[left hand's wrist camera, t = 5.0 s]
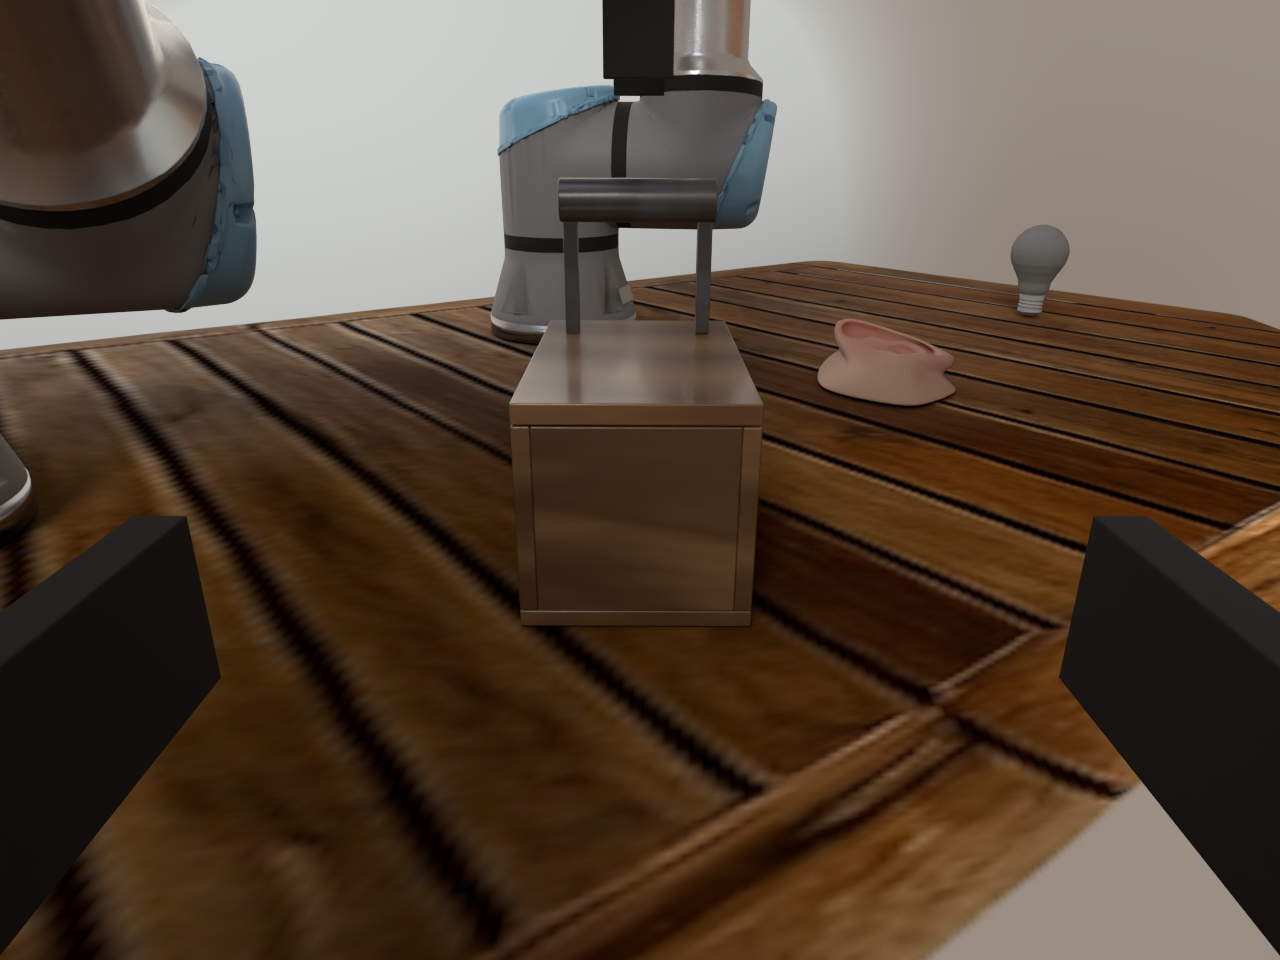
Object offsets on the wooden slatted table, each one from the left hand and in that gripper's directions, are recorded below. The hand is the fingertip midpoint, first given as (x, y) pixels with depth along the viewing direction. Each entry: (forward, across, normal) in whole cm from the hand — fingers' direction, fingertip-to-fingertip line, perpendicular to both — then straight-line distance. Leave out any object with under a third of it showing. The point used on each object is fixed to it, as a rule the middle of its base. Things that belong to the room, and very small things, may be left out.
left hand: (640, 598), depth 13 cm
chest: (+27, 0, -12) cm, 30 cm away
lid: (+27, 0, -4) cm, 28 cm away
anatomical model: (+58, +20, -12) cm, 62 cm away
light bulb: (+87, +45, -12) cm, 99 cm away
